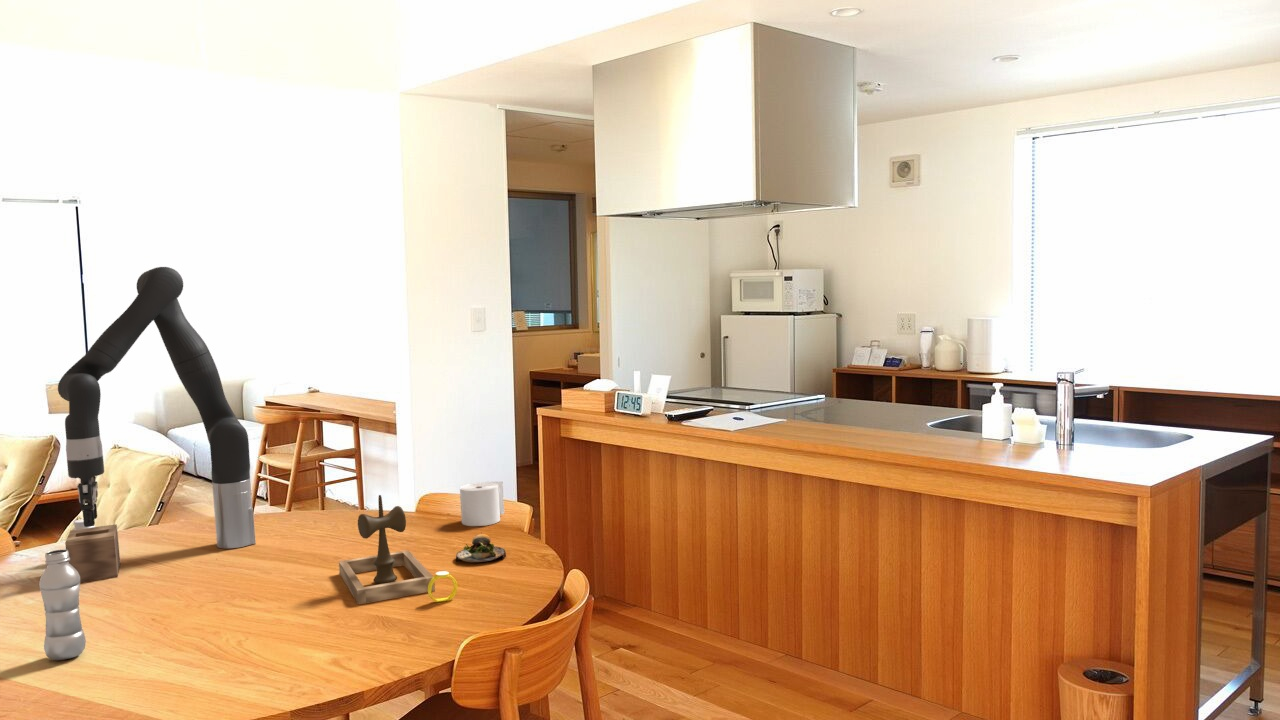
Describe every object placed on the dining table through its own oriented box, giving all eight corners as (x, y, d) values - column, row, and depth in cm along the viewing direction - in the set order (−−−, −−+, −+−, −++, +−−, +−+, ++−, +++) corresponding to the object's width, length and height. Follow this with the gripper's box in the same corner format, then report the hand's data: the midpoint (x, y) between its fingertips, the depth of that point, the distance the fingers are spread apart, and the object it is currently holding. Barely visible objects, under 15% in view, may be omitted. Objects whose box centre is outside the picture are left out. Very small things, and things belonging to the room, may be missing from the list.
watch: (431, 605, 200) (429, 577, 199) (427, 602, 202) (425, 574, 201) (459, 599, 203) (457, 571, 202) (454, 596, 205) (453, 568, 204)
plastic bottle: (56, 652, 182) (46, 548, 180) (93, 649, 182) (84, 546, 180) (38, 665, 175) (27, 558, 174) (76, 663, 176) (66, 555, 174)
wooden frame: (409, 562, 231) (408, 550, 231) (434, 590, 209) (434, 577, 209) (339, 573, 224) (338, 561, 224) (358, 604, 202) (357, 590, 202)
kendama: (411, 580, 217) (405, 492, 216) (370, 590, 211) (364, 500, 210) (399, 574, 222) (394, 489, 220) (359, 584, 216) (353, 496, 214)
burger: (446, 564, 229) (444, 534, 229) (473, 551, 240) (471, 521, 240) (490, 568, 225) (488, 537, 224) (515, 554, 236) (513, 524, 235)
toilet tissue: (456, 526, 264) (453, 490, 263) (470, 515, 276) (468, 481, 275) (493, 526, 262) (491, 490, 262) (506, 515, 274) (504, 481, 273)
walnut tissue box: (120, 563, 241) (116, 524, 240) (117, 577, 229) (114, 535, 228) (74, 570, 237) (70, 530, 236) (69, 584, 225) (65, 542, 224)
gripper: (100, 458, 226) (106, 526, 227) (104, 450, 239) (110, 514, 240) (63, 462, 223) (70, 531, 224) (69, 453, 235) (75, 518, 237)
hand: (90, 522), depth 232 cm, fingers open, 8 cm apart
